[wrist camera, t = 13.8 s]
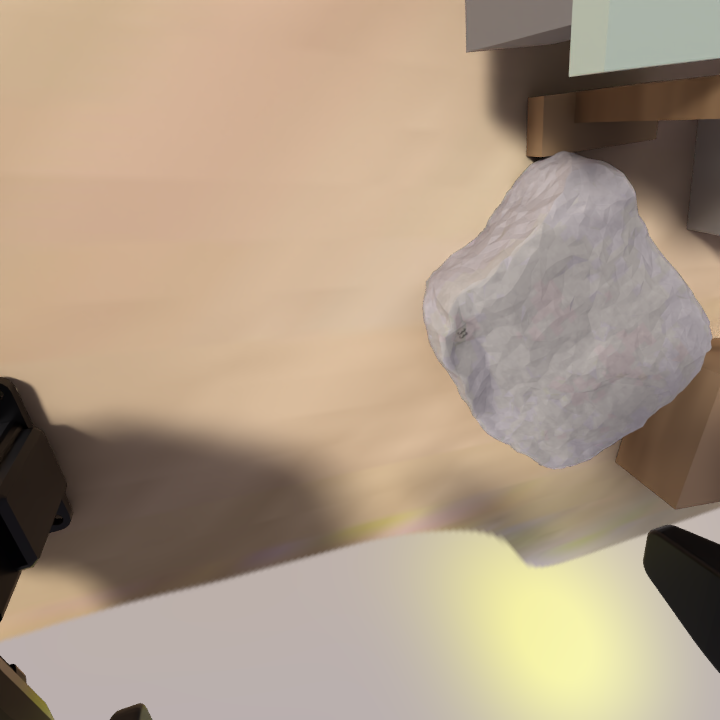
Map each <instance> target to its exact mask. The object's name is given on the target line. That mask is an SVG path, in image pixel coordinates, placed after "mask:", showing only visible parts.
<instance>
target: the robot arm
mask: <svg viewBox="0 0 720 720" xmlns="http://www.w3.org/2000/svg"><path fill="white" fill-rule="evenodd" d="M0 390H1V391H2V392H3V394H4V396H3V397H0V622H1V620H2V618H3V616H4V614H5V611H6V609H7V606H8V604H9V601H10V599H11V596H12V594H13V591H14V589H15V587H16V584H17V582H18V579H19V577H20V574H21V572H22V570H25V569H28V568H32V567H34V565H35V564H36V562H37V561H38V559H39V558H40V555H41V553H42V550H43V547H44V545H45V542H46V539H47V537H48V534H49V533H51V532H55V531H59V530H62V529H64V528H66V527H67V526H68V525H69V524H70V521H71V518H72V515H73V511H72V508H71V506H70V504H69V502H68V499H67V497H66V495H65V493H64V492H65V489H66V487H67V483H66V480H65V478H64V476H63V474H62V472H61V469H60V467H59V465H58V463H57V461H56V458H55V456H54V454H53V452H52V450H51V448H50V445H49V443H48V441H47V439H46V437H45V434H44V432H43V431H41V430H40V429H38V428H36V427H34V426H33V424H32V422H31V420H30V418H29V416H28V413H27V411H26V409H25V407H24V405H23V403H22V401H21V398H20V396H19V394H18V392H17V390H16V388H15V386H14V385H13V383H12V382H11V381H9V380H7V379H5V378H2V377H0ZM56 515H60V516H62V517H63V518H58V519H57V518H55V516H56ZM643 564H644V568H645V571H646V573H647V575H648V576H649V578H650V579H651V581H652V582H653V584H654V585H655V586H656V588H657V589H658V591H659V592H660V593H661V595H662V596H663V598H664V599H665V601H666V602H667V603H668V605H669V606H670V608H671V609H672V610H673V612H674V613H675V615H676V616H677V617H678V619H679V620H680V622H681V623H682V624H683V626H684V627H685V629H686V630H687V632H688V633H689V634H690V636H691V637H692V639H693V640H694V641H695V643H696V644H697V645H698V647H699V648H700V649H701V651H702V652H703V653H704V655H705V656H706V657H707V658H708V660H709V661H710V662H711V663H712V664H713V666H714V667H715V668H716V669H717V670H718V672H719V673H720V544H717V543H715V542H713V541H710V540H708V539H705V538H703V537H701V536H698V535H696V534H693V533H691V532H689V531H686V530H684V529H681V528H679V527H676V526H673V525H665V526H662V527H659V528H656V529H653V530H651V531H650V532H649V533H648V536H647V541H646V547H645V553H644V558H643ZM0 720H54V718H53V716H52V714H51V712H50V710H49V708H48V707H47V705H46V703H45V702H44V701H43V700H42V699H41V698H40V697H39V696H38V695H37V694H36V693H35V692H34V691H33V690H32V689H31V688H30V687H29V686H28V685H27V683H26V676H25V674H24V673H23V672H22V671H21V670H20V669H19V668H18V667H17V666H16V665H15V664H11V665H9V664H8V663H7V662H6V661H5V660H4V659H3V658H2V657H1V656H0ZM110 720H152V718H151V716H150V714H149V712H148V710H147V708H146V707H145V705H144V704H141V703H139V704H136V705H133V706H130V707H127V708H124V709H121V710H119V711H117V712H116V713H115V714H114V715H113V716H112V717H111V719H110Z"/></svg>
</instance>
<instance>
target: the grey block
mask: <svg viewBox="0 0 720 720" xmlns="http://www.w3.org/2000/svg"><path fill="white" fill-rule="evenodd" d="M687 229H688V230H693V231H698V232H703V233H708V234H714V235H719V236H720V119H698V126H697V135H696V144H695V154H694V163H693V173H692V182H691V191H690V201H689V210H688V220H687Z"/></svg>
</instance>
